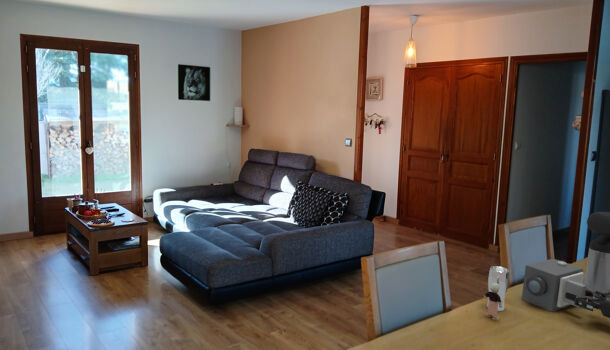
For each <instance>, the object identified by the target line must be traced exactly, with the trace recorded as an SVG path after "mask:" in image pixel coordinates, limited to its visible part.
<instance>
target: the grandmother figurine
mask: <svg viewBox="0 0 610 350" xmlns="http://www.w3.org/2000/svg"><path fill="white" fill-rule="evenodd" d="M499 287H500V286H499V284H498V283H493V284H491V285H490V287H489V288H488V290H489V289H491V291H492V292H489V291H487V292H485V293H484V296H483V299H484V300H487V298H488V300H489V304H488V307H487V314H486V315H485V316H486V317H487V318H491V320H493V321H499V320H500V317H499V316H498V311H497V310H498V304H499V307H500V308H501V307H502V303H501V302H502V301H501V298H500V296H499V295H498V294H497V292H498V291H499Z"/></svg>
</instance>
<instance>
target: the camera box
mask: <svg viewBox="0 0 610 350" xmlns="http://www.w3.org/2000/svg"><path fill="white" fill-rule="evenodd" d="M524 269H525V270H524V277H523V284H522V285H523V286H522V292H521V293H522V294H521V300H522V301H524V302H528V303H530V304H533V306H536V305H537V307H539V308H541V309H544V310H546V311H548V312H551V313H552V312H555V311H558V310H561V309H564V308H568V307H570V306H572V305H571V304H568V305H565V306H562V307H557V301H558V294H559V286H560V279H561V278H562V277H566V276H569V275H573V274H577V273H580V272H583V273H584V267H581V266H576V265H574V264H572V263H567V261H566V262H565V261H564V260H559V259H555V258H550V259H545V260H542V261H538V262H532V263H529V264H525V268H524Z"/></svg>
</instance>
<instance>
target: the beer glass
mask: <svg viewBox="0 0 610 350" xmlns="http://www.w3.org/2000/svg"><path fill="white" fill-rule="evenodd" d="M487 279H488V280H487V285H488V286H487V287H488V292H492V291H491V289H489V287H490V285H491V284H493V283H498V284H499V286H500V287H499V291H498V292H497V294H498V295H499V296H500V298H501V301H502V302H501V303H502V307H501V308H500V307H499V304H498V310H497V312H503V311H505V299H506V298H505V297H506V295H507V292H508V289H509V285H510V284H509V283H510V269H509V268H506V267H503V266H499V265H498V266H497V265H494V266H493V265H492V266H491V267H490V268H489V273H488V278H487ZM488 304H489V299H488V301H487V303H486V308H488Z"/></svg>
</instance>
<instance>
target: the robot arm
mask: <svg viewBox="0 0 610 350" xmlns="http://www.w3.org/2000/svg"><path fill="white" fill-rule="evenodd" d="M586 225H587V227H588V229H589V230H590V231H591V232H592V233H594V234H597V235H600V236H599V237H597V238H595V239H593V240H590V243H589V248H588V255H587V261H586V270H585V273H584V280H583V285H586V291H585V296H584V297H581V296H577V295H574V294H571V293H569V292H567V293H566V294H565V298H566V299H569V300H572V301H574V302H575V303H574V305H576V306H579V307H581V308H582V309H584V310H587V311H590V312H593V311H594V310H599V311H600V312H601V314H602V316H603V317H606V318H608V319H610V295H608V294H609V293H610V211H596V212H595V211H594V212H593V213H591V214H590V215H588V217H587V219H586ZM582 299H583V300H582ZM580 301H581V302H580ZM581 304H582V305H581ZM574 305H573V306H574ZM576 306H575V307H576ZM579 307H578V308H579Z"/></svg>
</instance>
